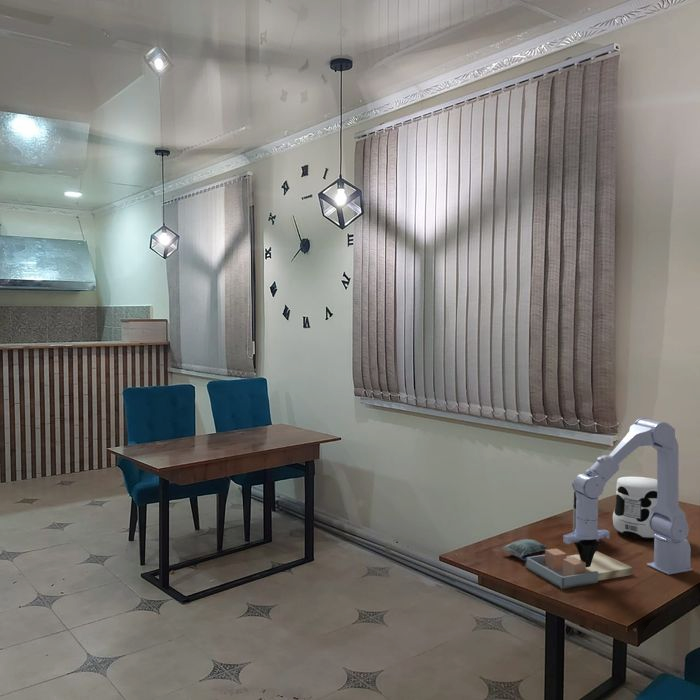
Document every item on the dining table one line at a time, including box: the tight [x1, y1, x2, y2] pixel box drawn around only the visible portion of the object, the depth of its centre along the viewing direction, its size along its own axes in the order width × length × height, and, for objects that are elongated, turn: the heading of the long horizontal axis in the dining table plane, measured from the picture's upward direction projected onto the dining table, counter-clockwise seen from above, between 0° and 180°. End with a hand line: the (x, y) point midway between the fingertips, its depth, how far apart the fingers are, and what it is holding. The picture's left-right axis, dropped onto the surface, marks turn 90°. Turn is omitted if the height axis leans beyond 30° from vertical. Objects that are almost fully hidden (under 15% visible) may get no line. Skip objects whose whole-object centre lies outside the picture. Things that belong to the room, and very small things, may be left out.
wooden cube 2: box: [563, 557, 586, 576], centre depth 179 cm, size 4×4×4 cm
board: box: [566, 550, 634, 582], centre depth 186 cm, size 13×14×2 cm
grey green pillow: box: [501, 538, 548, 561], centre depth 196 cm, size 9×12×5 cm
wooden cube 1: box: [544, 548, 567, 571], centre depth 186 cm, size 4×4×4 cm
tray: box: [525, 554, 599, 590], centre depth 182 cm, size 12×16×3 cm
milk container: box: [612, 476, 657, 540], centre depth 216 cm, size 17×17×18 cm
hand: (586, 565), depth 180 cm, fingers closed
